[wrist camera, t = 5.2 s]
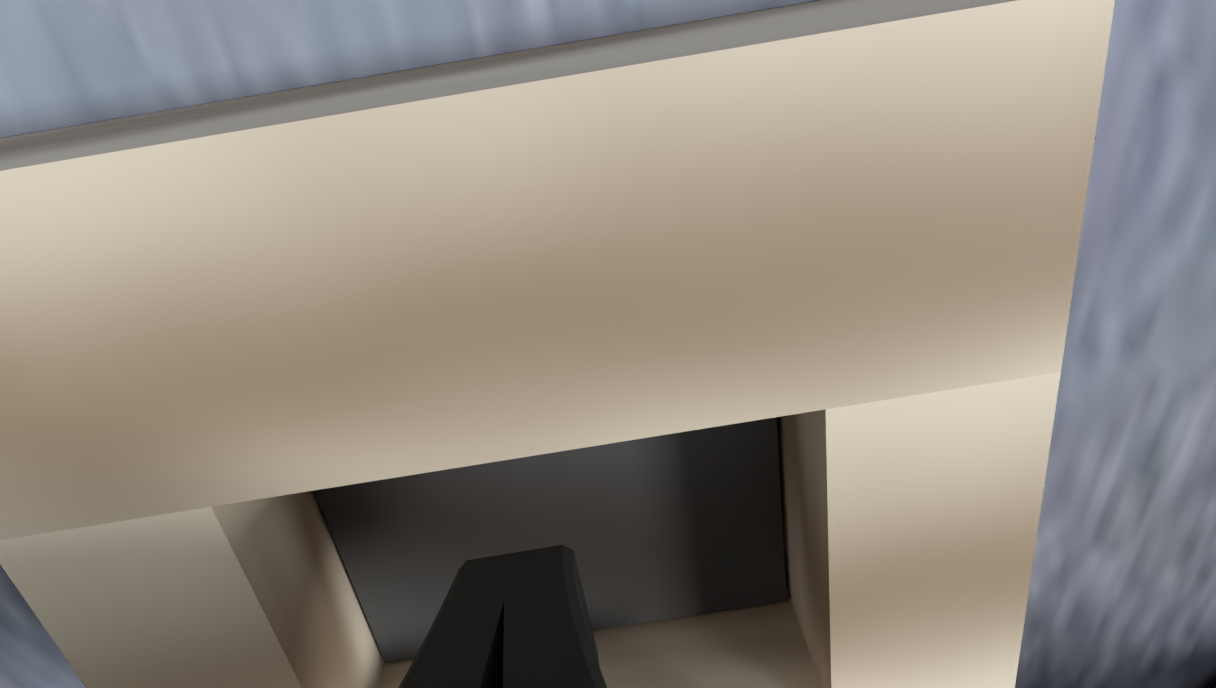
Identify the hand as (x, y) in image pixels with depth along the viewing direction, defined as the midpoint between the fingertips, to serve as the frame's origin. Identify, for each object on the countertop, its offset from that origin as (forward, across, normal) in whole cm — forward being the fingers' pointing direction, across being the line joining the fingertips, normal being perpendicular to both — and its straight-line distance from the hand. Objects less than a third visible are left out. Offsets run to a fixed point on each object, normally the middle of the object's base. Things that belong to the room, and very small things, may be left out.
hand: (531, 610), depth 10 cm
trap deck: (+4, 0, +8) cm, 9 cm away
